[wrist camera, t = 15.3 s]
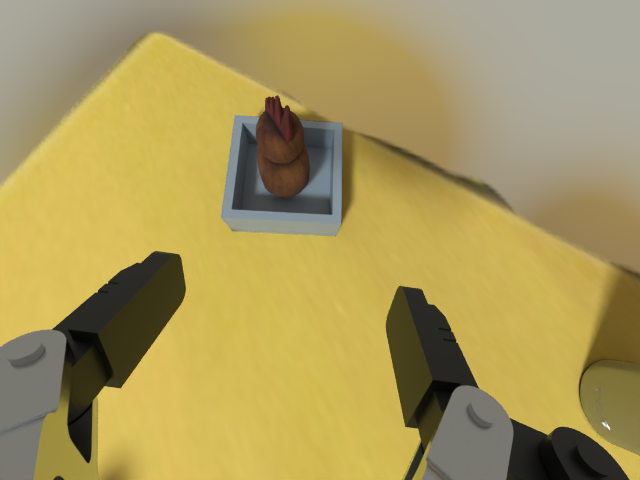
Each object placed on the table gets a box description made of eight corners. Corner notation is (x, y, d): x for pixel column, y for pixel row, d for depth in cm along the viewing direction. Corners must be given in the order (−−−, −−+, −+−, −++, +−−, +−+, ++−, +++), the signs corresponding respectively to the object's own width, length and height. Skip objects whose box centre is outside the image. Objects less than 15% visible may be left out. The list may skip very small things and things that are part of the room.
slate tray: (337, 147, 37) (342, 123, 33) (335, 236, 34) (341, 223, 29) (243, 140, 37) (234, 115, 32) (232, 231, 33) (221, 217, 29)
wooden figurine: (312, 201, 34) (321, 121, 20) (267, 209, 33) (241, 131, 19) (303, 155, 36) (304, 49, 21) (259, 161, 35) (230, 56, 20)
